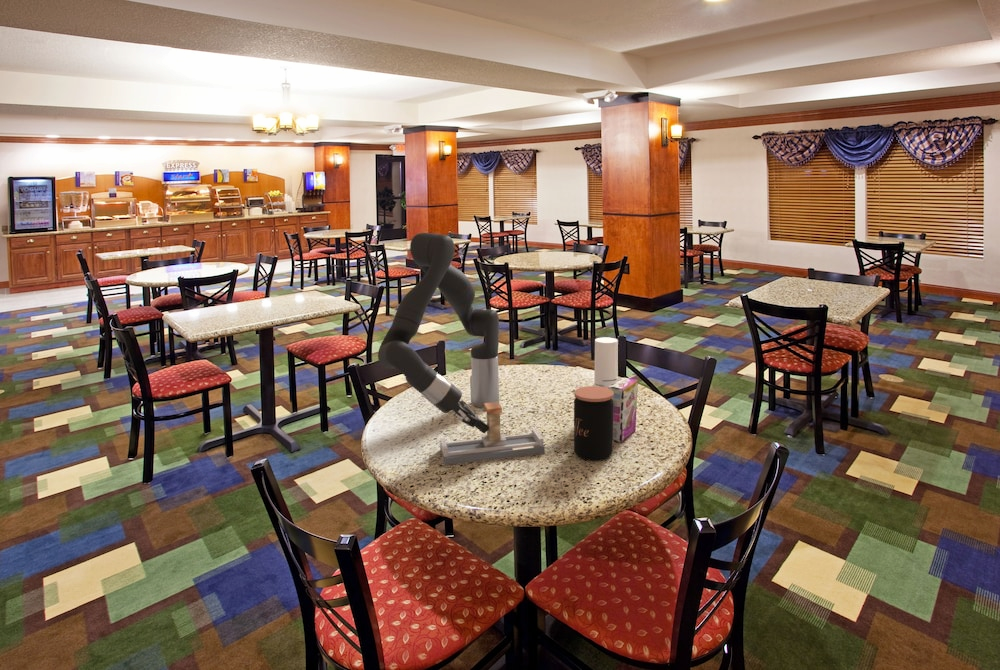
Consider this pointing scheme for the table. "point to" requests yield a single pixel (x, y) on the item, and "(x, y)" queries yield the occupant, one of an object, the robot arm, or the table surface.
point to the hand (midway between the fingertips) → (486, 429)
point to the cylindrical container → (605, 361)
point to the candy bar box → (624, 408)
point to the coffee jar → (593, 422)
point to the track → (492, 448)
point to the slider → (493, 426)
